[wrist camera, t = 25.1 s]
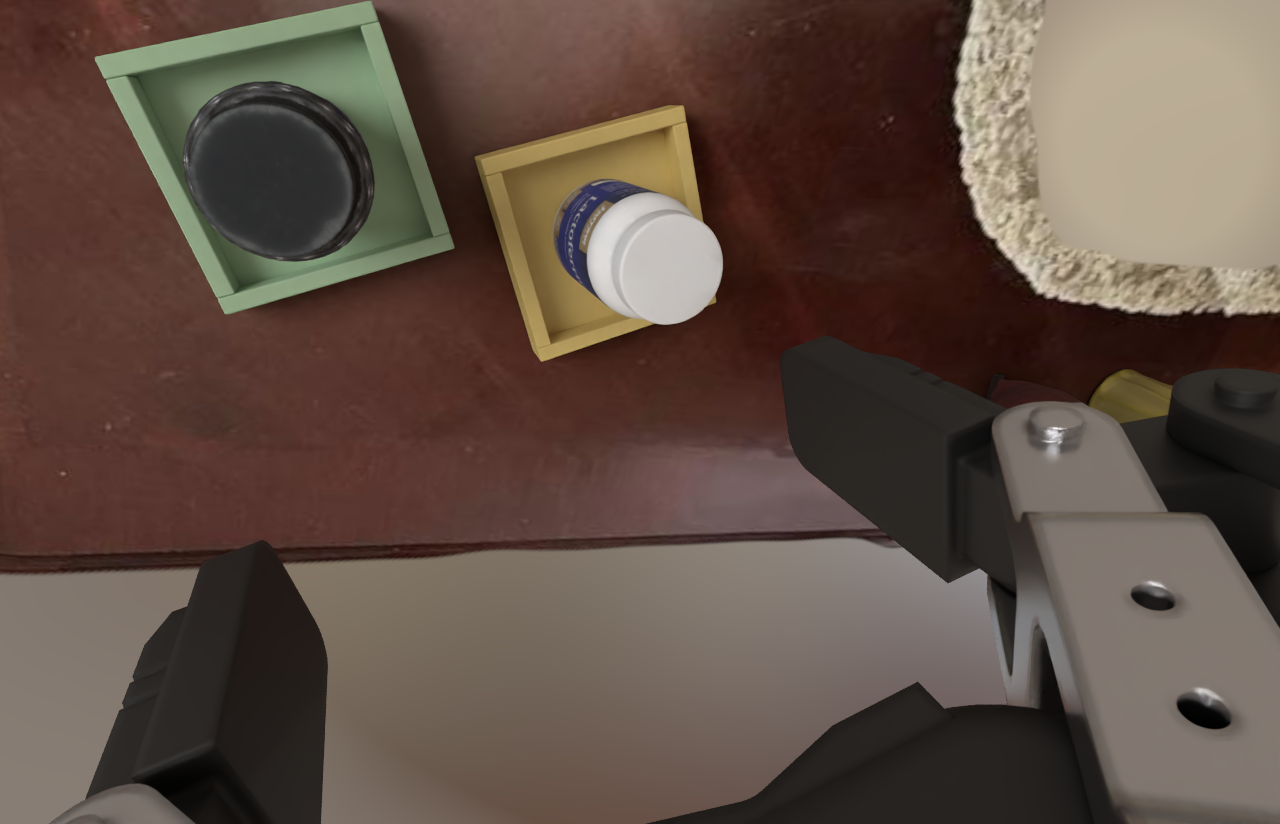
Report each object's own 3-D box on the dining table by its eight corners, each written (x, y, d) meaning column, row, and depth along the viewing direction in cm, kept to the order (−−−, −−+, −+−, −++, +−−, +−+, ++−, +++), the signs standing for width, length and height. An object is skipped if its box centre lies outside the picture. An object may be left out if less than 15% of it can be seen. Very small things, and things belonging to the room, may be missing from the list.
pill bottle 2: (548, 177, 36) (610, 199, 27) (653, 177, 38) (741, 198, 29) (550, 289, 38) (608, 342, 29) (649, 283, 40) (730, 332, 31)
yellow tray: (473, 156, 35) (480, 159, 33) (668, 105, 37) (684, 105, 35) (533, 351, 40) (541, 362, 38) (702, 294, 42) (717, 303, 40)
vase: (1147, 399, 61) (1347, 473, 49) (1096, 449, 61) (1283, 535, 49) (1128, 353, 58) (1338, 420, 45) (1074, 406, 58) (1269, 487, 46)
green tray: (108, 59, 28) (92, 57, 27) (370, 5, 31) (372, 0, 29) (231, 305, 33) (225, 315, 32) (450, 241, 36) (455, 248, 34)
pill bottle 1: (378, 228, 34) (389, 276, 24) (236, 234, 32) (187, 289, 22) (360, 87, 31) (363, 79, 22) (204, 84, 29) (134, 74, 20)
